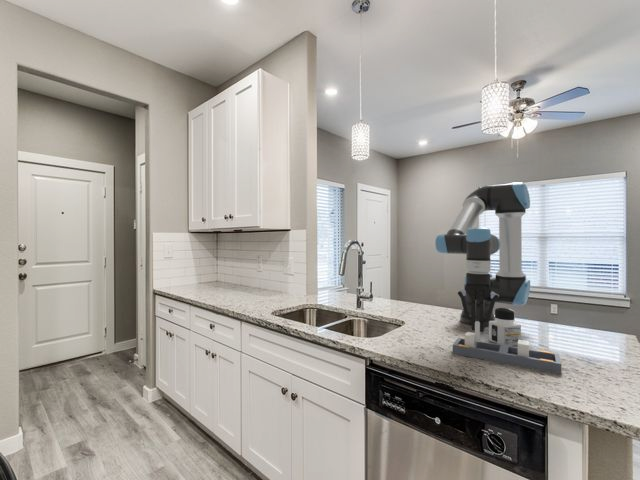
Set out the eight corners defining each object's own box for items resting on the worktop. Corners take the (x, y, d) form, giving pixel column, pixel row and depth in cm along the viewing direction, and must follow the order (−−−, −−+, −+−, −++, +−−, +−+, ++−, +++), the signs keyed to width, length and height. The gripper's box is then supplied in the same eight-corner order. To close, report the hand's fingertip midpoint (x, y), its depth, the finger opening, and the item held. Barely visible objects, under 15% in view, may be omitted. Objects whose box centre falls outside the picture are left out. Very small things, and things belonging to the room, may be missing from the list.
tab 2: (518, 354, 106) (518, 339, 106) (528, 356, 104) (529, 341, 104) (517, 359, 102) (517, 343, 102) (528, 361, 100) (528, 345, 100)
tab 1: (467, 345, 115) (467, 331, 115) (476, 347, 113) (476, 333, 113) (464, 349, 110) (464, 335, 110) (474, 351, 109) (474, 336, 109)
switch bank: (458, 345, 119) (458, 336, 119) (558, 363, 102) (559, 353, 102) (452, 353, 110) (452, 344, 110) (561, 374, 94) (561, 363, 94)
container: (504, 346, 118) (504, 311, 118) (488, 340, 125) (488, 307, 125) (521, 345, 120) (521, 310, 120) (504, 338, 127) (504, 306, 127)
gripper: (455, 272, 111) (455, 340, 111) (498, 274, 104) (498, 347, 104) (459, 270, 117) (459, 335, 117) (500, 272, 110) (500, 341, 110)
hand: (477, 340), depth 110 cm, fingers closed
